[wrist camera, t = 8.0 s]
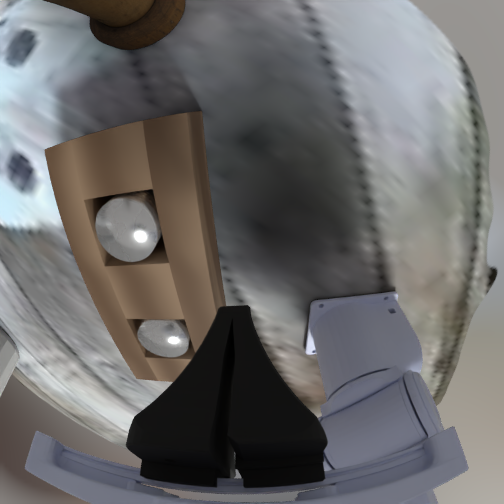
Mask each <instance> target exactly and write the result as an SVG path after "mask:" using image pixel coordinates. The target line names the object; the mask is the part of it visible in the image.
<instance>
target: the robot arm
mask: <svg viewBox="0 0 504 504" xmlns="http://www.w3.org/2000/svg"><path fill="white" fill-rule="evenodd" d="M397 298H398V294H397V292H395V291H394V292H386V293H378V294H370V295H362V296H353V297H344V298H334V299H323V300H315V301H313V302H312V303H311V305H310V314H309V323H308V332H307V340H306V348H305V352H306V354H317V359H318V363H319V368H320V372H321V376H322V381H323V386H324V390H325V395H326V400H327V402H326V403H325V404H323V405H321V406H320V407H321V413H322V416H321V417H319V418H317V417H316V416H315V415H314V414H313V413H312V412H311V411H310V410H309V409H308V408H307V407H306V406H305V405H304V404H303V403H302V402H301V401H300V400H299V399H298V397H297V396H296V395H295V394H294V393H293V392H292V390H291V389H290V388H289V387H288V385H287V384H286V383H285V382H284V380H283V379H282V378H281V376H280V375H279V373H278V372H277V370H276V369H275V367H274V366H273V364H272V362H271V361H270V359H269V357H268V355H267V354H266V352H265V350H264V348H263V346H262V344H261V342H260V339H259V337H258V335H257V332H256V330H255V327H254V324H253V321H252V317H251V312H250V307H249V306H248V305H244V306H221V307H219V308H218V311H217V314H216V316H215V318H214V321H213V323H212V325H211V327H210V329H209V331H208V333H207V334H206V336H205V338H204V340H203V342H202V344H201V345H200V347H199V348H198V350H197V351H196V353H195V355H194V356H193V358H192V359H191V361H190V362H189V363H188V365H187V366H186V367H185V369H184V370H183V371H182V372H181V374H180V375H179V376H178V377H177V378H176V379H175V381H174V382H173V383H172V384H171V385H170V386H169V387H168V388H167V389H166V390H165V391H164V392H163V393H162V394H161V395H160V396H159V397H158V398H157V399H156V400H155V401H153V402H152V403H151V404H150V405H149V406H147V407H146V408H145V409H144V410H142V411H141V412H140V413H138V414H137V415H136V416H135V417H134V419H133V421H132V424H131V426H130V429H129V433H128V438H127V442H126V447H127V448H128V449H129V450H130V451H131V452H132V453H133V454H135V455H136V456H137V457H139V458H140V459H142V463H141V468H136V467H132V466H127V465H123V464H119V463H115V462H112V461H108V460H104V459H101V458H98V457H94V456H92V455H88V454H85V453H82V452H80V451H77V450H74V449H71V448H69V447H66V446H64V445H63V444H61V443H60V442H59V441H57V440H56V439H54V438H52V437H50V436H48V435H46V434H43V433H41V432H39V431H36V433H35V436H34V439H33V442H32V446H31V449H30V452H29V455H28V458H27V462H26V465H25V469H26V470H27V471H28V472H30V473H32V474H33V475H35V476H37V477H39V478H40V479H42V480H44V481H46V482H48V483H49V484H51V485H53V486H55V487H57V488H59V489H61V490H63V491H65V492H67V493H69V494H71V495H73V496H75V497H78V498H80V499H82V500H84V501H87V502H89V503H92V504H438V502H437V499H436V496H435V494H434V491H433V489H434V488H436V487H438V486H440V485H442V484H444V483H446V482H448V481H450V480H452V479H453V478H455V477H457V476H458V475H460V474H462V473H464V472H465V471H467V470H468V465H467V461H466V459H465V455H464V452H463V449H462V447H461V444H460V441H459V438H458V435H457V433H456V430H455V427H453V426H452V427H450V428H448V429H446V430H444V428H443V426H442V423H441V418H440V415H439V412H438V410H437V407H436V405H435V402H434V400H433V398H432V395H431V393H430V391H429V389H428V387H427V385H426V383H425V382H424V380H423V378H422V377H421V375H420V372H421V368H422V361H423V358H422V349H421V345H420V342H419V339H418V337H417V335H416V334H415V332H414V330H413V328H412V327H411V325H410V323H409V321H408V320H407V318H406V316H405V314H404V313H403V311H402V309H401V308H400V306H399V304H398V303H397ZM320 304H322V305H320ZM235 469H237V470H238V471H239V473H240V475H241V477H242V479H234V477H235V476H236V472H235ZM324 470H325V471H324ZM141 483H142V484H141ZM143 484H147V485H152V486H157V487H163V488H168V489H176V490H182V491H191V492H201V493H215V494H269V493H283V492H293V491H302V490H309V489H315V490H309V491H305V492H300V493H298V497H296V498H295V501H285V502H261V503H258V502H257V503H249V502H246V503H245V502H216V501H202V500H191V499H181V498H179V496H176V495H173V494H170V493H167V492H165V491H164V490H162V489H158V488H154V487H150V486H146V485H143ZM322 487H323V488H322ZM316 488H318V489H316Z"/></svg>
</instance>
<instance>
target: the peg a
mask: <svg viewBox="0 0 504 504" xmlns="http://www.w3.org/2000/svg"><path fill="white" fill-rule="evenodd" d="M95 228H96V233H97V237H98V239H99V241H100V243H101V245H102V246H103V247H104V249H105V250H106V251H107V252H108V253H110V254H111V255H112V256H114V257H115V258H117V259H120V260H123V261H127V262H136V261H140V260H143V259H145V258H146V257H148V256H149V255H150V254H151V253H152V251H153V250H154V248H155V246H156V244H157V243H158V241H159V239H160V237H161V236H162V231H161V227H160V222H159V217H158V212H157V207H156V202H155V197H154V192H153V189H148V190H141V191H134V192H127V193H121V194H117V195H115V196H114V197H113V198H112V199H111V200H109V201H108V202H107V203H106V204H105V205H104V206H102V208H101V209H100V210H99V212H98V214H97V217H96V223H95Z"/></svg>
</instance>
